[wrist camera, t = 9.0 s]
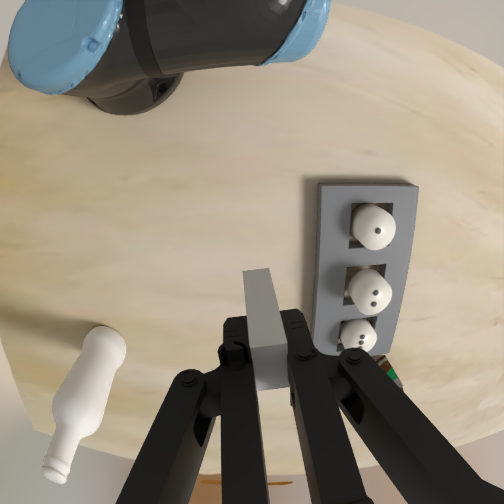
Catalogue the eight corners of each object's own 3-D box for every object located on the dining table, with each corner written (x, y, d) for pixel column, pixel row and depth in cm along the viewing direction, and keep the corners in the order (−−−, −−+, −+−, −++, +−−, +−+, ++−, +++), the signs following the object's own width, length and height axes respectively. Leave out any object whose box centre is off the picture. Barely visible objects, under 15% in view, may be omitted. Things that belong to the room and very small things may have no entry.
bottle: (104, 316, 50) (36, 457, 22) (136, 346, 52) (92, 492, 25) (80, 335, 51) (16, 463, 23) (111, 363, 54) (65, 494, 26)
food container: (356, 365, 58) (372, 401, 49) (382, 350, 57) (402, 384, 48) (372, 394, 62) (387, 426, 53) (395, 381, 61) (412, 412, 52)
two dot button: (349, 270, 47) (359, 283, 43) (384, 267, 47) (395, 279, 43) (346, 303, 49) (354, 317, 45) (378, 299, 49) (388, 313, 45)
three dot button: (340, 317, 52) (347, 331, 48) (371, 313, 52) (380, 326, 49) (336, 343, 54) (343, 358, 51) (366, 339, 55) (374, 353, 51)
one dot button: (350, 203, 44) (361, 211, 41) (385, 203, 45) (398, 210, 41) (348, 241, 47) (357, 252, 43) (382, 239, 47) (393, 249, 43)
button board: (317, 183, 43) (321, 186, 41) (412, 184, 44) (418, 187, 42) (308, 358, 56) (311, 365, 54) (385, 346, 56) (389, 352, 55)
